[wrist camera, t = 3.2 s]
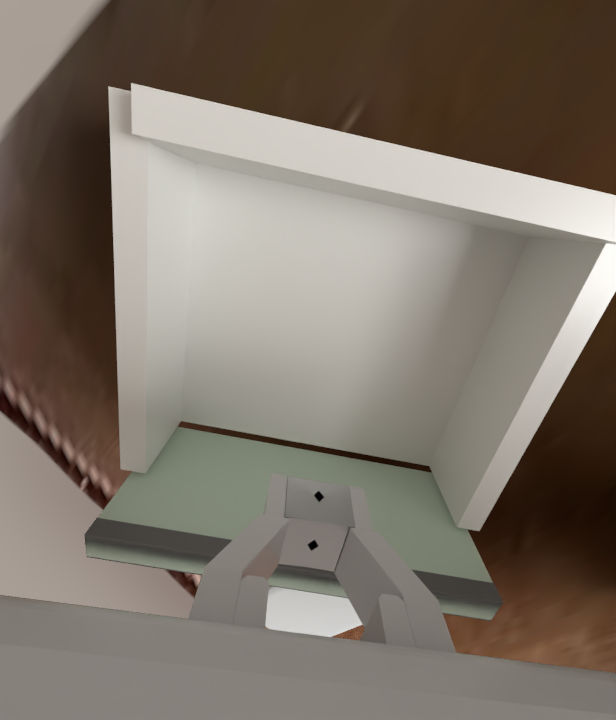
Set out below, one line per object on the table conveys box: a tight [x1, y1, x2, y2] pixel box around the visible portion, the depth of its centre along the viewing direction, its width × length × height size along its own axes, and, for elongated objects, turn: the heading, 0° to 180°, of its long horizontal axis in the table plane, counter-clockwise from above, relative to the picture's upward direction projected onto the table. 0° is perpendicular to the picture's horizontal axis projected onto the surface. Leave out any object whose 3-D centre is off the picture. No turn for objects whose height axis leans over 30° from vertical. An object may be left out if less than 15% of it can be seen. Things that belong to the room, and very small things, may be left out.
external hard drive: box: [265, 586, 363, 637], centre depth 28 cm, size 2×8×12 cm
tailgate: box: [85, 427, 503, 621], centre depth 17 cm, size 17×1×8 cm, turn 79°
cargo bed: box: [108, 83, 616, 531], centre depth 16 cm, size 18×15×7 cm
